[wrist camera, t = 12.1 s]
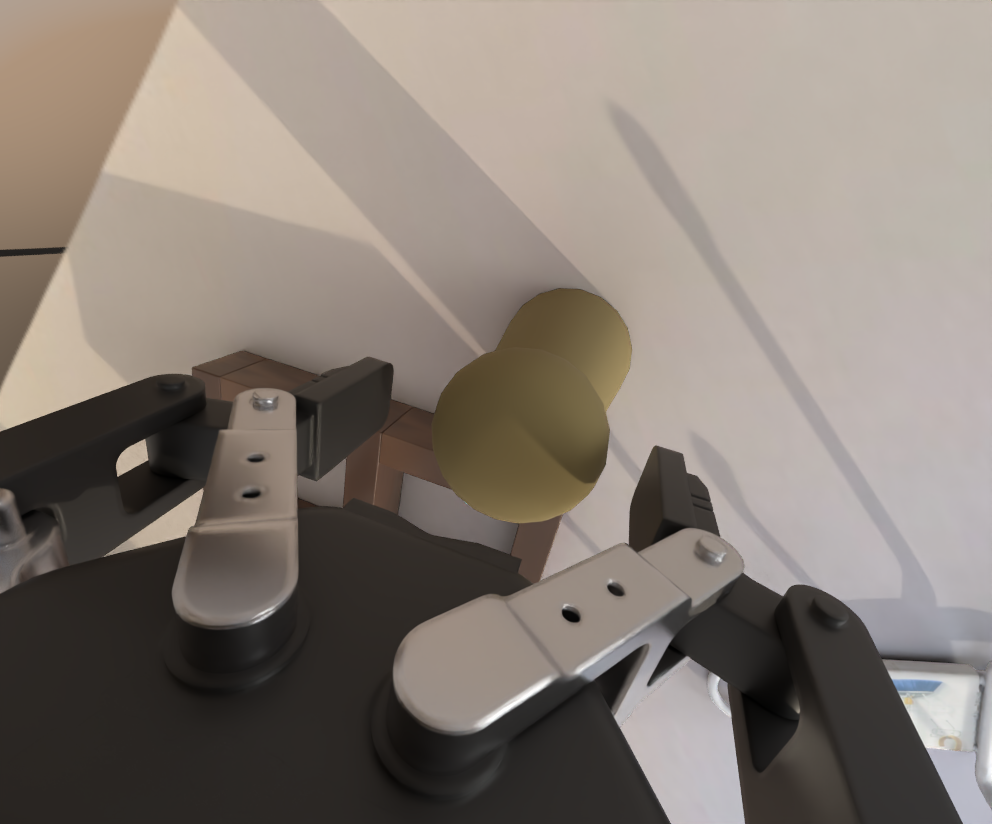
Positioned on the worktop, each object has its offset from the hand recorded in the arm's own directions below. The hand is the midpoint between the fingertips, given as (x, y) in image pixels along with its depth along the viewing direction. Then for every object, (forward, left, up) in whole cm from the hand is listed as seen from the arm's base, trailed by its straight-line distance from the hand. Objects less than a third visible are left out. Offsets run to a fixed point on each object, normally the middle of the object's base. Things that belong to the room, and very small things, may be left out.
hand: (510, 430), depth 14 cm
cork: (0, 0, -10) cm, 10 cm away
